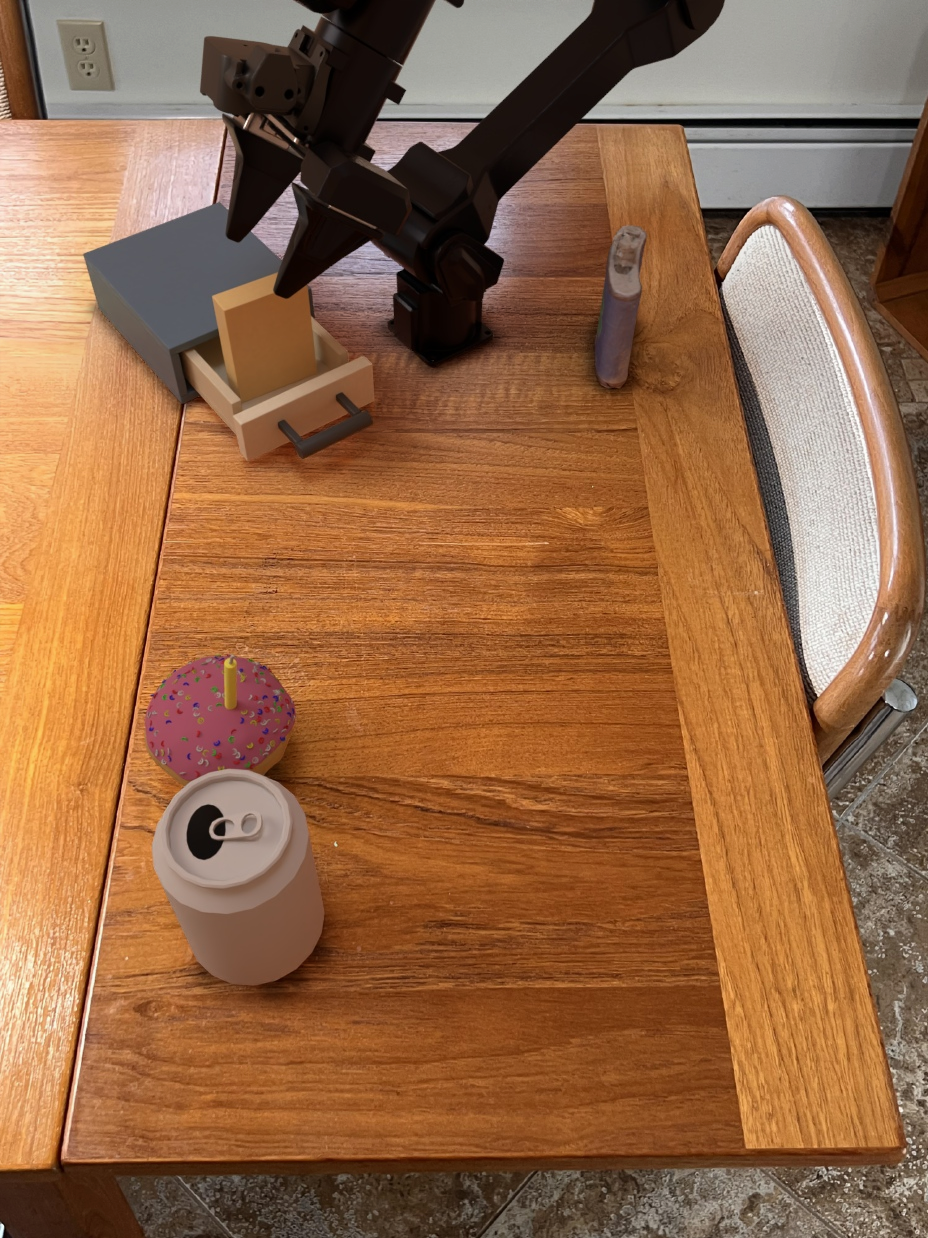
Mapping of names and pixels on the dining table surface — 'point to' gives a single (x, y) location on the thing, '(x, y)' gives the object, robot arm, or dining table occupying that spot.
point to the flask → (619, 306)
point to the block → (264, 337)
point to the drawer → (288, 398)
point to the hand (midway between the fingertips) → (254, 266)
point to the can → (240, 875)
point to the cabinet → (175, 286)
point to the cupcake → (218, 718)
